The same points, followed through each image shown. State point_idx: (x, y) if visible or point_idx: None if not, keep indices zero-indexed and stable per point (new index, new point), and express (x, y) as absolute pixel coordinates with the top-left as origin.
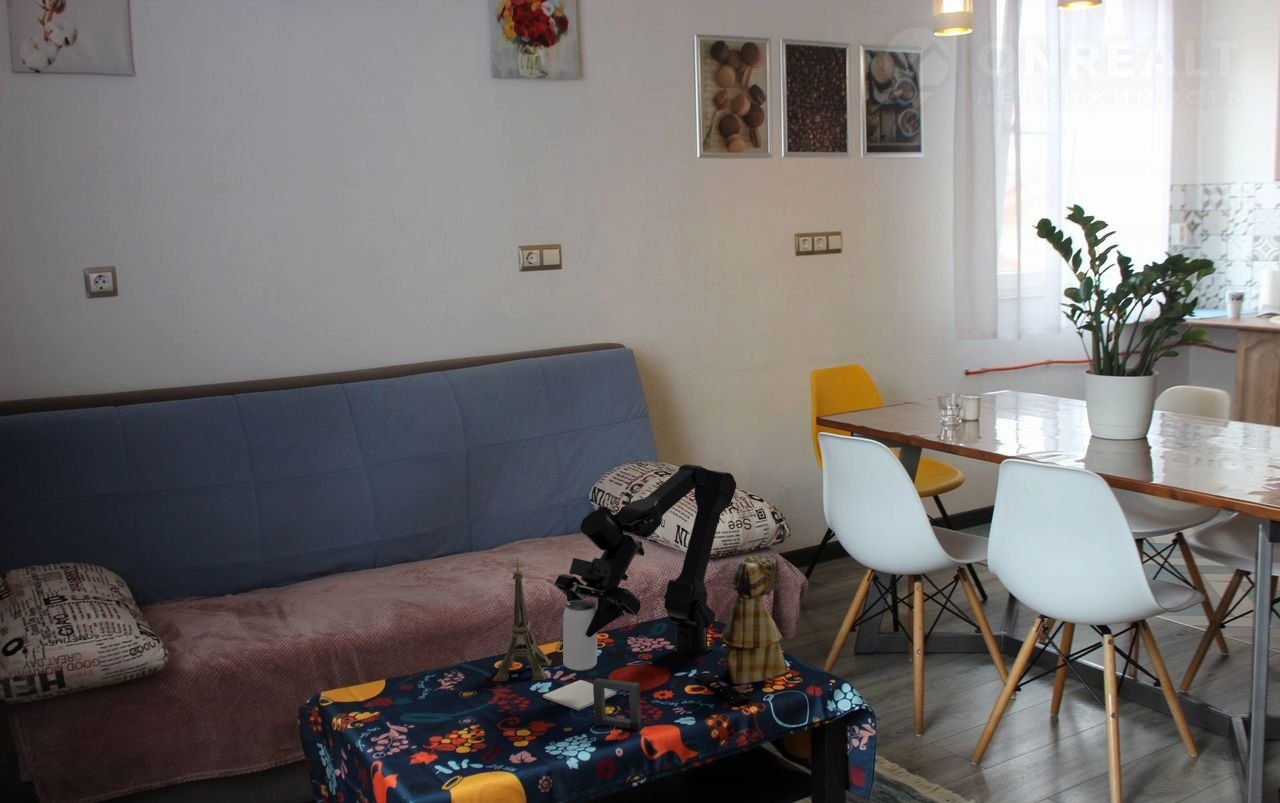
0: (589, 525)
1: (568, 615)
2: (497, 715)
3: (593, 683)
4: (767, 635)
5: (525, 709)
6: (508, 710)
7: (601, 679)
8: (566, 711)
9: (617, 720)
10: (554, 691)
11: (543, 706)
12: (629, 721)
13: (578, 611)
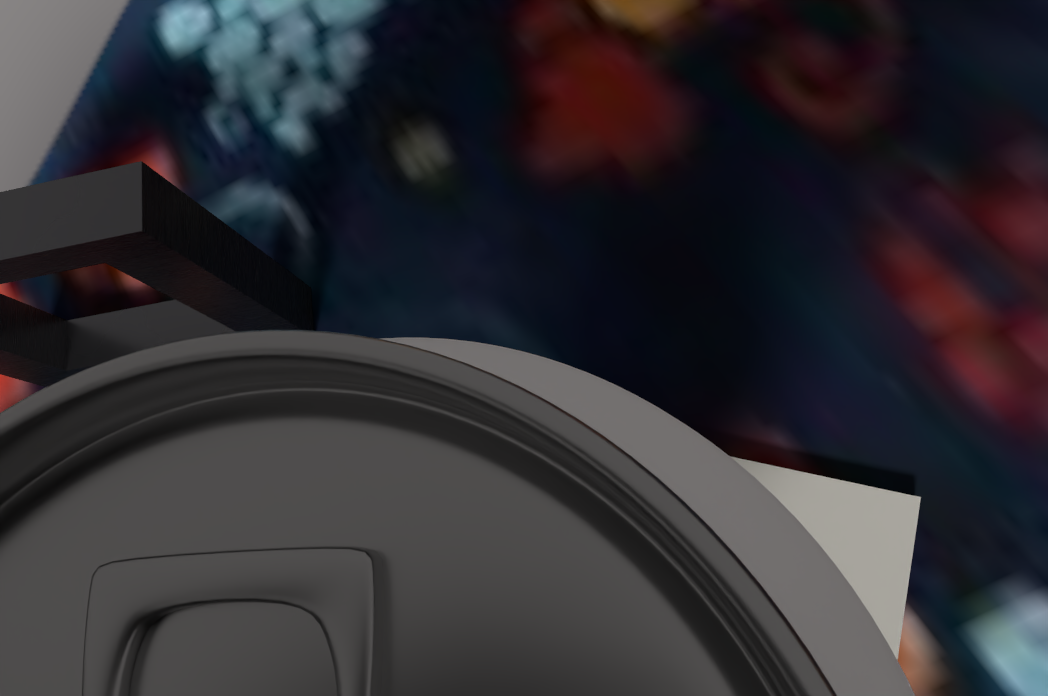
0: None
1: (475, 344)
2: (985, 86)
3: (150, 171)
4: None
5: (877, 256)
6: (980, 185)
7: (87, 225)
8: (583, 362)
9: (152, 317)
10: (883, 606)
11: (792, 359)
12: (78, 337)
13: (72, 421)
